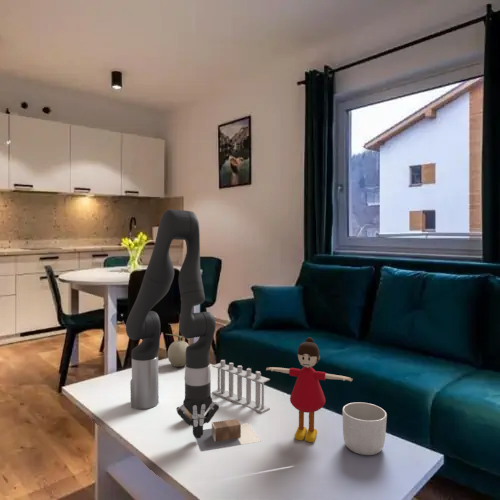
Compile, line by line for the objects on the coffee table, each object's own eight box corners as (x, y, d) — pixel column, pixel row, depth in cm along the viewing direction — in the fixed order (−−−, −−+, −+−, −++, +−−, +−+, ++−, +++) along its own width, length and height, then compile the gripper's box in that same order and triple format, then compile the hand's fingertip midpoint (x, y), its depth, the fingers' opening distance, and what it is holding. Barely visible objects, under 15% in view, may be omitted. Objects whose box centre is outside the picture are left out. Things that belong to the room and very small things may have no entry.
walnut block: (214, 428, 125) (240, 424, 127) (211, 422, 128) (237, 418, 131) (214, 441, 125) (240, 437, 127) (211, 435, 129) (236, 431, 131)
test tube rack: (269, 409, 147) (270, 372, 146) (261, 414, 144) (261, 376, 143) (220, 390, 164) (220, 357, 163) (211, 393, 161) (211, 359, 160)
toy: (260, 435, 129) (261, 339, 127) (271, 419, 140) (272, 330, 138) (349, 452, 120) (351, 348, 118) (353, 434, 130) (355, 339, 128)
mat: (200, 452, 120) (200, 451, 119) (193, 432, 131) (193, 431, 131) (260, 442, 125) (260, 441, 125) (248, 424, 136) (248, 422, 136)
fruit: (197, 365, 192) (197, 332, 191) (177, 371, 184) (177, 338, 183) (182, 360, 199) (182, 328, 198) (162, 366, 191) (162, 333, 190)
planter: (340, 455, 118) (341, 418, 118) (342, 434, 130) (343, 400, 130) (386, 462, 115) (387, 423, 114) (384, 440, 127) (385, 404, 126)
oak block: (189, 425, 136) (189, 407, 135) (184, 420, 139) (184, 402, 139) (200, 422, 138) (200, 404, 137) (195, 417, 141) (195, 399, 141)
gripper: (176, 387, 118) (177, 446, 119) (222, 382, 122) (222, 439, 123) (173, 377, 125) (173, 434, 127) (216, 373, 129) (216, 427, 131)
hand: (197, 436), depth 125 cm, fingers closed
